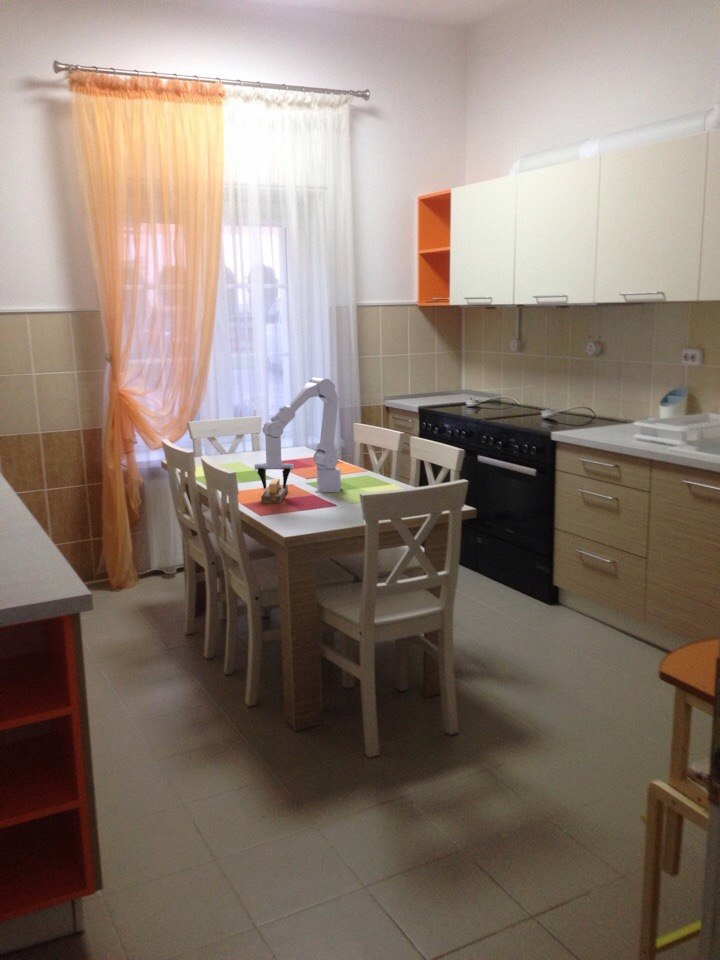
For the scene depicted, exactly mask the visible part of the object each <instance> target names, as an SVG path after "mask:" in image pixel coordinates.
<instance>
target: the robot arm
mask: <svg viewBox="0 0 720 960" xmlns="http://www.w3.org/2000/svg"><path fill="white" fill-rule="evenodd" d="M315 397H318V398H319V399H320V400H321V401H322V402H323V410H322V417H321V428H320V430H321V431H320V437H319V440H320V441H319V443H318V444H317V446H316V451H315V452H314V454H313V461H314V463H315V464H316V488H315V493H340V492H341V489H342V479H341V478H342V476H341V473H342V472H341V471H342V470H341V468H340V467H336V466H338V463H339V456H338V453H337V452H338V450H337V448H336V446H335V437H336V436H335V435H336V425H337V415H338V408H339V405H338V404H339V397H338V394H337V391H336V385H335V383H333V382H332V381H331V379H329V378H320V377H319V376H318V377H317V376H314V377H312V378H311V379H309V381H307V382H306V383H305V385H304V386H303V388H302V389H301V391H300V392H299V393H298V394H297V395H296V396H295V397H294V399H293V400H292V401H291V402H290V403H289V405H283V406H281V407H279V408H278V412H277V413H276V414H275V415H273V416H271V417H270V420H267V421H265V423H264V424H263V427H262V428H261V430H262V433H263V434H264V435H265V462H264V463H255V464H254V470H255V471H257V475H258V476H259V478H260V481H261V483H262V487H263V489H264V490H266V489H267V480H266V479H267V476H266V473H267V472H266V471H267V470H282V481H283V483H282V485H283V489H285V488H286V485H287V481H288V478H289V475H290V472H291V471H293V470H294V463H283V462H282V440H281V439H282V438H281V436H282V435H283V433H284V429H285V428H286V427H287V426H288V425H289V424H290V423H291V422H292V421H293V419H294V418H296V412H297V411H298V410H299V409H300V408H301V407H302V406H303V405H304V404H305V403H306V402H307V401H308V400H309V399H310V398H315Z"/></svg>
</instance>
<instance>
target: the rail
mask: <svg viewBox="0 0 720 960" xmlns="http://www.w3.org/2000/svg"><path fill="white" fill-rule="evenodd" d="M288 488H289V487H288V484H286V488H285V489H283V484H280V489H278V490H277V494H270V492H269V485H268V486H267V487H266V489H265V491H264V492H263V493H262V495H261V498H260V499H261V504H281V503H282V502H283V500H284V498H285V496H287V493H288V490H289V489H288Z"/></svg>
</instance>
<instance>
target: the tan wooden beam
mask: <svg viewBox="0 0 720 960" xmlns="http://www.w3.org/2000/svg"><path fill="white" fill-rule="evenodd" d="M280 483H281V481H280V478H273V479H272V480H271V481H270V483H269V485H268V486H269V492H270V494H277V490H278V489H280V485H281V484H280Z"/></svg>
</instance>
